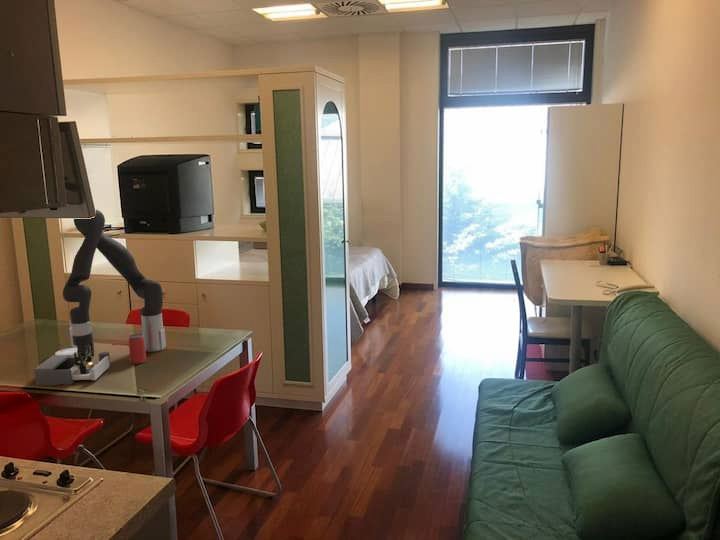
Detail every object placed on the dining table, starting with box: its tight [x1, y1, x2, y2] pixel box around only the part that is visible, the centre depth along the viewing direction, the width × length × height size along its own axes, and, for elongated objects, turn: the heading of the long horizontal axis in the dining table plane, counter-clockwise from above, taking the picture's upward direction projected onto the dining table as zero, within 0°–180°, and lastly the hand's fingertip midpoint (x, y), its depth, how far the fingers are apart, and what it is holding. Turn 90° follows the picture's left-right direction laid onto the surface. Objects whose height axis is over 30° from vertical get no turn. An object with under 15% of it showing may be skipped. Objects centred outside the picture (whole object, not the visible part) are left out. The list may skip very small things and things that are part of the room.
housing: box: [33, 354, 84, 386], centre depth 246 cm, size 14×16×7 cm
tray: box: [70, 356, 111, 381], centre depth 246 cm, size 14×16×5 cm
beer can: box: [128, 333, 147, 365], centre depth 262 cm, size 7×7×12 cm
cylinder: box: [97, 351, 111, 365], centre depth 260 cm, size 4×4×5 cm
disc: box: [78, 360, 95, 370], centre depth 246 cm, size 6×6×2 cm
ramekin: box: [54, 347, 77, 357], centre depth 264 cm, size 11×11×5 cm
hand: (86, 370), depth 246 cm, fingers closed on disc, 5 cm apart
